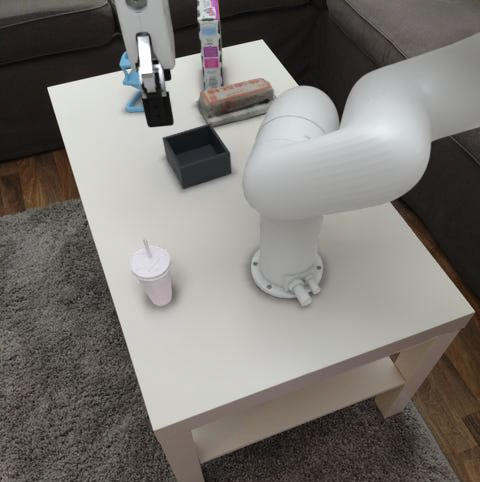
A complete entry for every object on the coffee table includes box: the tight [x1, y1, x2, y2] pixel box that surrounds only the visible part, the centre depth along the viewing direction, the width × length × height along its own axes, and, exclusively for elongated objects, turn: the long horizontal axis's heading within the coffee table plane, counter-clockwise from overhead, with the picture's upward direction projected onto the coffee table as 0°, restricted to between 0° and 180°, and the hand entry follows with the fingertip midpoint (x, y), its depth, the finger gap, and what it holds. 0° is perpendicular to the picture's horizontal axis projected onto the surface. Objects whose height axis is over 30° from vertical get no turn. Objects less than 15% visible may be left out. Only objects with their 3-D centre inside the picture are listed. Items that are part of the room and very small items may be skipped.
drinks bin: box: [161, 123, 232, 190], centre depth 91 cm, size 11×11×5 cm
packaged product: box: [195, 77, 278, 128], centre depth 101 cm, size 18×5×10 cm
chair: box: [119, 51, 144, 113], centre depth 100 cm, size 8×8×12 cm
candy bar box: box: [196, 0, 224, 91], centre depth 103 cm, size 11×5×16 cm, turn 3°
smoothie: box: [129, 236, 173, 307], centre depth 69 cm, size 6×6×14 cm
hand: (160, 101), depth 56 cm, fingers open, 9 cm apart
